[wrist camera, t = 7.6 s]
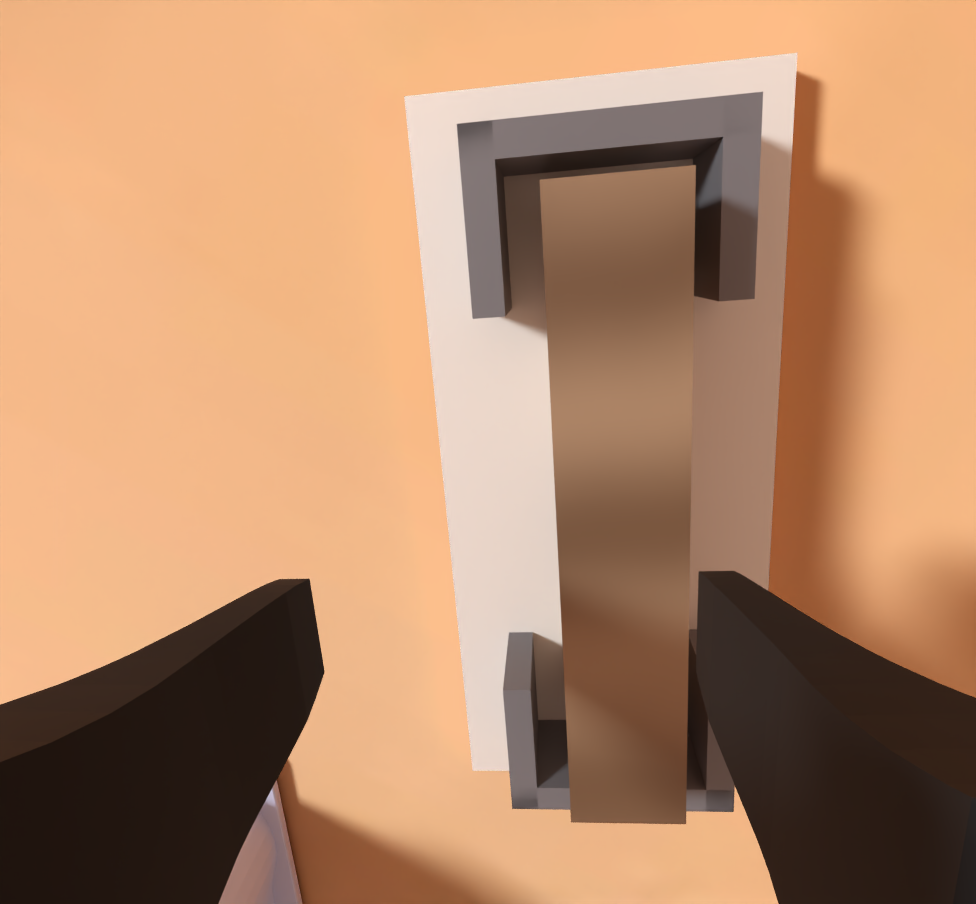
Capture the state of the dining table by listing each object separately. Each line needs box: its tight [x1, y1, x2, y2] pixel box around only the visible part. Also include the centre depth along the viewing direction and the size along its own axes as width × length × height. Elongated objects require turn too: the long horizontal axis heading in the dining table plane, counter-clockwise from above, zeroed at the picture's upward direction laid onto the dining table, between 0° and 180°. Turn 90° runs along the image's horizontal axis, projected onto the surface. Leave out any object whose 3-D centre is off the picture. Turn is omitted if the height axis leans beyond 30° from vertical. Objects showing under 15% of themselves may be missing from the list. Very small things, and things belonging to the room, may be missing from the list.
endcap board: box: [404, 53, 797, 812], centre depth 18 cm, size 22×10×4 cm, turn 4°
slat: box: [540, 165, 696, 824], centre depth 17 cm, size 16×3×5 cm, turn 4°
